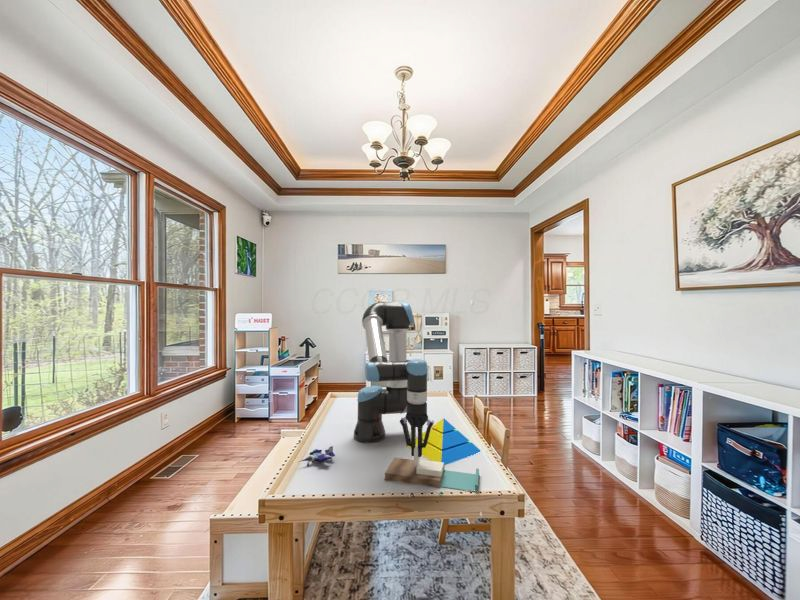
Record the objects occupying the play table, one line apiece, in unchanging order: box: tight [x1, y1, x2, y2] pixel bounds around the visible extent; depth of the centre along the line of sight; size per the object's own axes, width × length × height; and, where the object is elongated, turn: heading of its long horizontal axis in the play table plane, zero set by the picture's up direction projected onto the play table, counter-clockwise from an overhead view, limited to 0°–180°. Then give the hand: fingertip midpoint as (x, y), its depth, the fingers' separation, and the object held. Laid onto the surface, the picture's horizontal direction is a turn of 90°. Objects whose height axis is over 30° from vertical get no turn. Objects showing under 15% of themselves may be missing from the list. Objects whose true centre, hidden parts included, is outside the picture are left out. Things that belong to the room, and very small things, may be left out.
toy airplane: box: [298, 445, 336, 467], centre depth 138 cm, size 13×14×4 cm
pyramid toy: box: [406, 417, 482, 466], centre depth 152 cm, size 25×25×14 cm
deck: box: [384, 457, 445, 489], centre depth 129 cm, size 20×13×2 cm, turn 75°
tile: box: [416, 459, 445, 477], centre depth 127 cm, size 9×7×2 cm
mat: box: [440, 468, 480, 492], centre depth 125 cm, size 13×12×2 cm
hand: (416, 464), depth 129 cm, fingers closed
